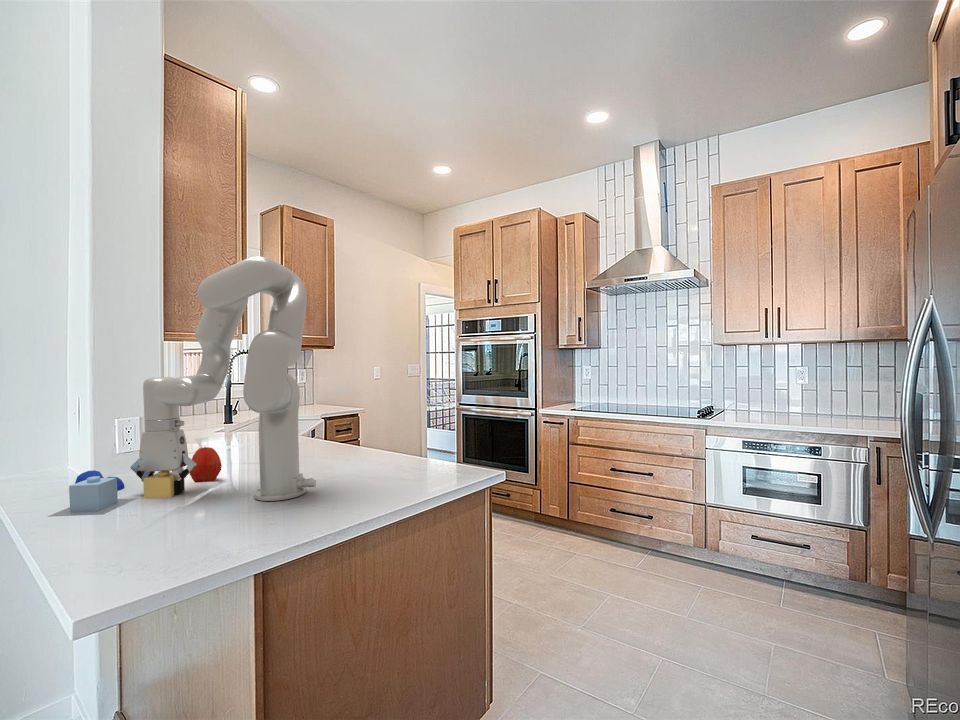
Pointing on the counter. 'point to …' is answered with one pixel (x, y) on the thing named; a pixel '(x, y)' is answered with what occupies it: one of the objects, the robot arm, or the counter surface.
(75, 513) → the baseplate
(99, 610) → the counter surface
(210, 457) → the apple
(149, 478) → the ochre brick
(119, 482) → the toy
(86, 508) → the blue brick
